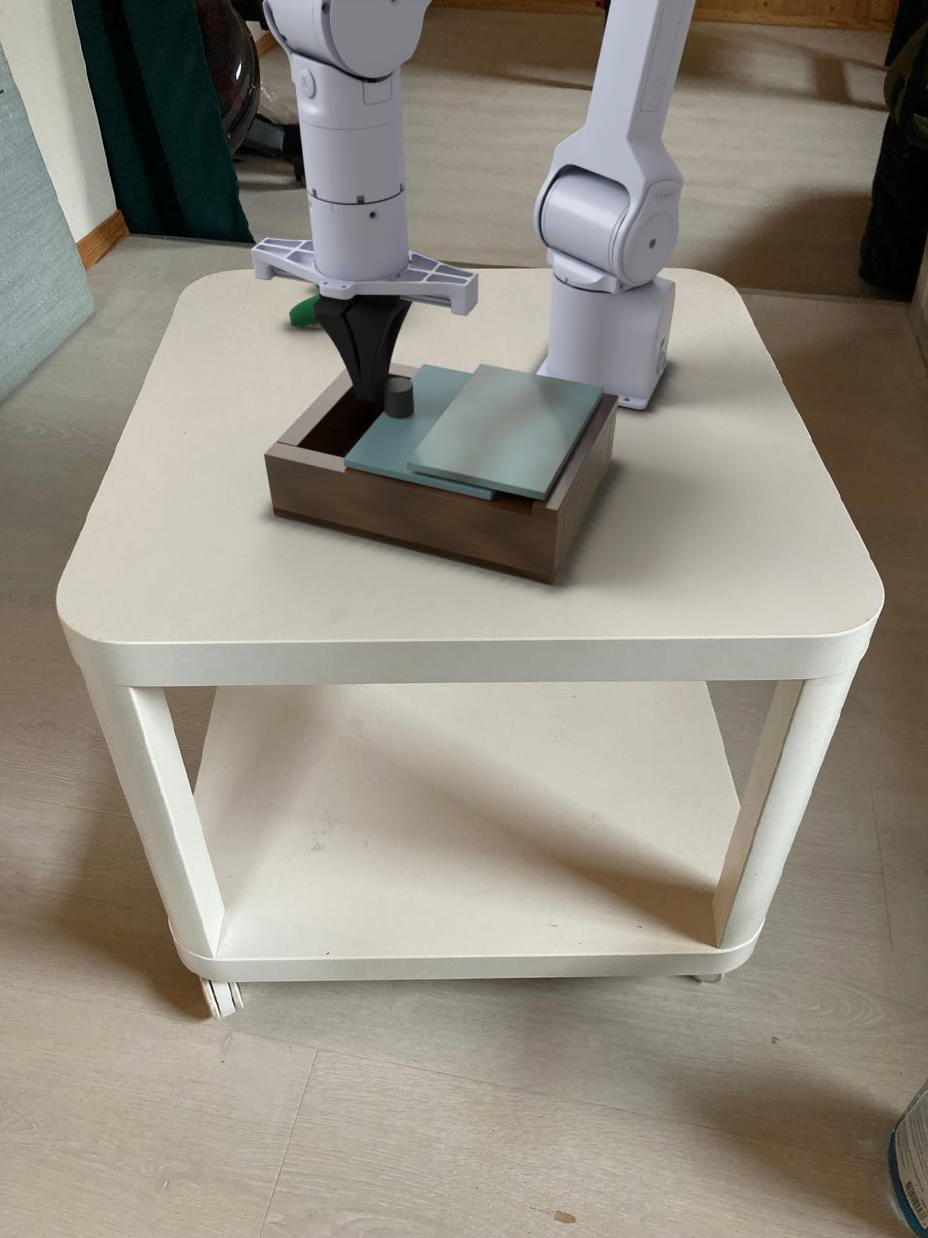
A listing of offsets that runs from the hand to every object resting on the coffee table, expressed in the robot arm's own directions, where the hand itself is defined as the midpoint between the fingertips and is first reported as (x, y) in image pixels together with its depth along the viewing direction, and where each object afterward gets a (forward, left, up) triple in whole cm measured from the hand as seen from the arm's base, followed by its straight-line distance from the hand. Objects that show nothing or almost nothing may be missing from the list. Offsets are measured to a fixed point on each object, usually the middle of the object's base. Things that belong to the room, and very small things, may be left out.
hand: (372, 393), depth 66 cm
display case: (-5, 0, -7) cm, 9 cm away
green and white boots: (+15, -22, -7) cm, 27 cm away
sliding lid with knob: (-6, 0, -2) cm, 6 cm away
